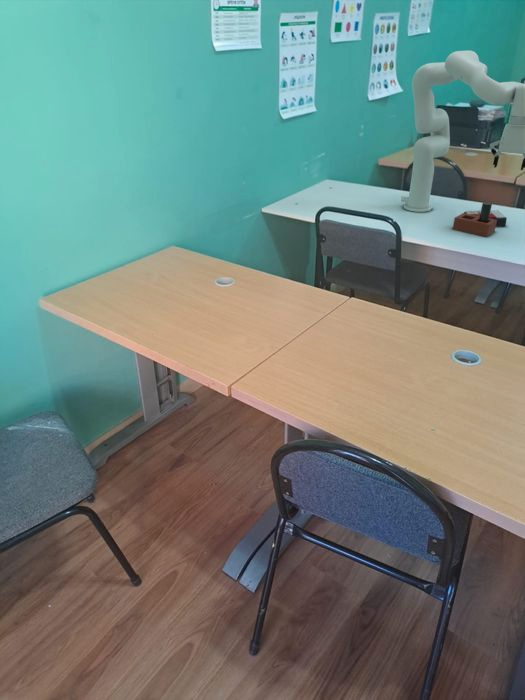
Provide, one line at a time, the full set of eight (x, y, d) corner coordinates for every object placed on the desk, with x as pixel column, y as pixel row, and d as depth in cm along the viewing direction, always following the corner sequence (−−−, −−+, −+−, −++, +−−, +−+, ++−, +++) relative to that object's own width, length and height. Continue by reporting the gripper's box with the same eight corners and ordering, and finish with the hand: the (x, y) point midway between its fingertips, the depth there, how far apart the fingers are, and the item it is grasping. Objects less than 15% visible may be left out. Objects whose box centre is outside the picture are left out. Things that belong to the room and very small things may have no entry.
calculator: (464, 210, 228) (499, 208, 226) (462, 219, 230) (497, 218, 228) (470, 217, 218) (507, 216, 217) (469, 227, 220) (505, 226, 219)
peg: (474, 232, 214) (481, 203, 207) (478, 230, 216) (484, 201, 210) (483, 234, 212) (489, 205, 205) (486, 232, 214) (493, 203, 208)
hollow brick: (452, 229, 217) (454, 217, 215) (460, 224, 222) (463, 213, 220) (486, 237, 209) (489, 225, 206) (494, 231, 214) (497, 220, 211)
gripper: (545, 121, 192) (533, 168, 201) (496, 118, 199) (486, 164, 208) (544, 123, 186) (531, 172, 195) (493, 120, 193) (483, 168, 202)
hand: (508, 168), depth 201 cm, fingers open, 9 cm apart
